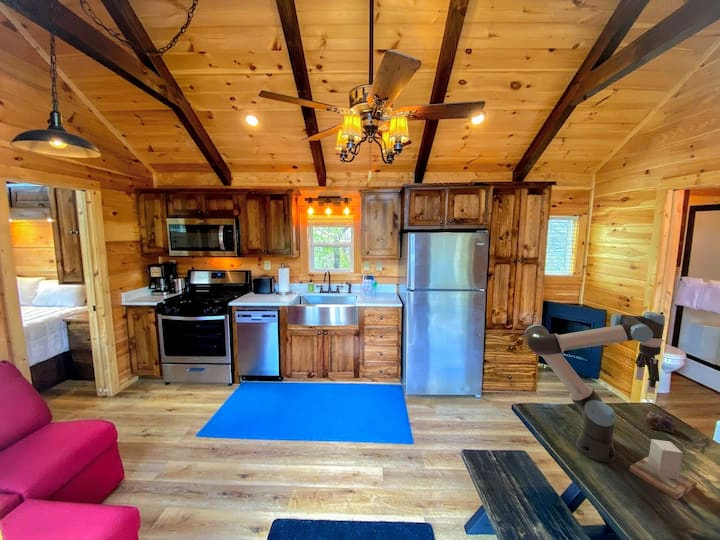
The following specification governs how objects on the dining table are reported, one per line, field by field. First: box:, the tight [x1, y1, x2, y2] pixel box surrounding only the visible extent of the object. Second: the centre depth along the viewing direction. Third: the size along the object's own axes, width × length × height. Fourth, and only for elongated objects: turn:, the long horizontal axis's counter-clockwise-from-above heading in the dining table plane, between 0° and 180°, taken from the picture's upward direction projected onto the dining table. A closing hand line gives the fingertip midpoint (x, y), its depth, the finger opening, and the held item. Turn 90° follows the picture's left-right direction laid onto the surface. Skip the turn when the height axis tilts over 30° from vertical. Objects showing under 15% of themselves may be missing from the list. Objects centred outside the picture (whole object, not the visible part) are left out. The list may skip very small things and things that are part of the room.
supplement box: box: [648, 438, 683, 480], centre depth 133 cm, size 7×7×13 cm
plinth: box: [629, 455, 698, 500], centre depth 134 cm, size 16×16×3 cm
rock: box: [644, 409, 677, 434], centre depth 167 cm, size 12×9×10 cm
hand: (644, 386), depth 150 cm, fingers open, 13 cm apart
